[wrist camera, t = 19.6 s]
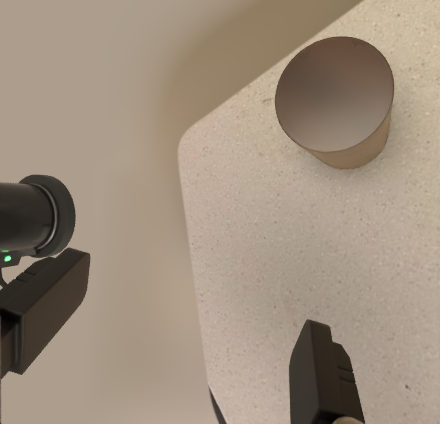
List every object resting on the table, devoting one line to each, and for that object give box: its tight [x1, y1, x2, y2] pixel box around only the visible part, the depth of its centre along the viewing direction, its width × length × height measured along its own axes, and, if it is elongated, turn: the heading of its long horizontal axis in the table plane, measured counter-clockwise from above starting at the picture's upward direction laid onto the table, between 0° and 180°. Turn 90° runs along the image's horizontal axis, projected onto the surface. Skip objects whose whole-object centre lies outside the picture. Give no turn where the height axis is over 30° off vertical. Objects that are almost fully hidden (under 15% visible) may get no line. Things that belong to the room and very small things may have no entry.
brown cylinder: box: [275, 37, 394, 169], centre depth 28 cm, size 7×7×13 cm
